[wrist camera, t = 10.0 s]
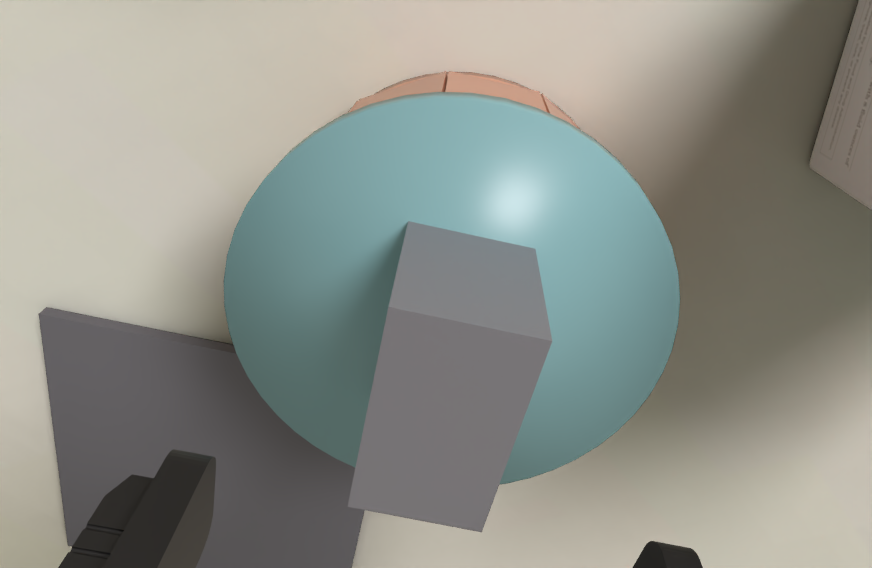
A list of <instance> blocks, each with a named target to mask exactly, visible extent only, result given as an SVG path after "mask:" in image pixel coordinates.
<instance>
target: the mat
mask: <svg viewBox="0 0 872 568" xmlns="http://www.w3.org/2000/svg"><path fill="white" fill-rule="evenodd" d="M39 319H40V327H41V335H42V343H43V351H44V359H45V367H46V375H47V383H48V391H49V399H50V407H51V415H52V423H53V431H54V439H55V447H56V454H57V462H58V470H59V478H60V486H61V494H62V502H63V510H64V518H65V526H66V534H67V542H68V546H73V544H74V543H75V541H76V540H77V538H78V536H79V535H80V533H81V532H82V530H83V529H85V528H86V526H87V522H88V521H89V519H90V518H91V516H92V515H93V513H94V512H95V510H96V508H97V507H98V505H99V504H100V502H101V501H102V499H103V498H104V496H105V495H106V494H108V493H109V492H110V491H111V490H113V489H114V488H115V487H117V486H118V485H119V484H120V483H122V482H123V481H124V480H126V479H127V478H128V477H129V476H131V475H132V474H133V475H139V476H144V477H149V478H154V477H155V475H156V474H157V472H158V470H159V468H160V467H161V465H162V463H163V461H164V460H165V458H166V456H167V455H168V453H169V452H170V451H171V450H173V449H175V450H181V451H186V452H191V453H197V454H202V455H207V456H212V457H215V458H216V475H215V492H214V508H213V518H212V523H211V528H210V531H209V535H208V538H207V541H206V544H205V547H204V549H203V552H202V554H201V557H200V559H199V561H198V564H197V566H196V568H352V563H353V559H354V554H355V550H356V545H357V541H358V536H359V532H360V527H361V523H362V519H363V514H364V510H363V509H357V508H352V507H347V506H348V501H349V497H350V492H351V487H352V482H353V477H354V472H355V467H353V466H351V465H348V464H346V463H344V462H342V461H340V460H338V459H336V458H334V457H332V456H330V455H329V454H327V453H325V452H324V451H322V450H320V449H319V448H317V447H315V446H314V445H312V444H311V443H310V442H308V441H307V440H306V439H304V438H303V437H302V436H300V435H299V434H297V433H296V432H295V431H294V430H293V429H292V428H290V427H289V426H288V425H287V424H286V423H285V422H284V421H283V420H282V419H281V418H280V417H279V416H277V415H276V413H275V412H274V411H273V410H272V409H271V408H270V406H269V405H268V404H267V403H266V402H265V401H264V399H263V398H262V397H261V396H260V394H259V393H258V391H257V390H256V388H255V387H254V385H253V384H252V382H251V381H250V379H249V378H248V376H247V374H246V372H245V370H244V368H243V366H242V364H241V362H240V360H239V358H238V356H237V354H236V351H235V348H234V345H231V344H226V343H221V342H216V341H211V340H206V339H201V338H196V337H191V336H186V335H181V334H176V333H171V332H166V331H161V330H156V329H151V328H146V327H142V326H137V325H132V324H127V323H122V322H117V321H112V320H107V319H102V318H97V317H92V316H87V315H82V314H77V313H72V312H67V311H62V310H57V309H52V308H47V307H46V308H45V309H44V310H43V311H42V312H41V313H39Z"/></svg>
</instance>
